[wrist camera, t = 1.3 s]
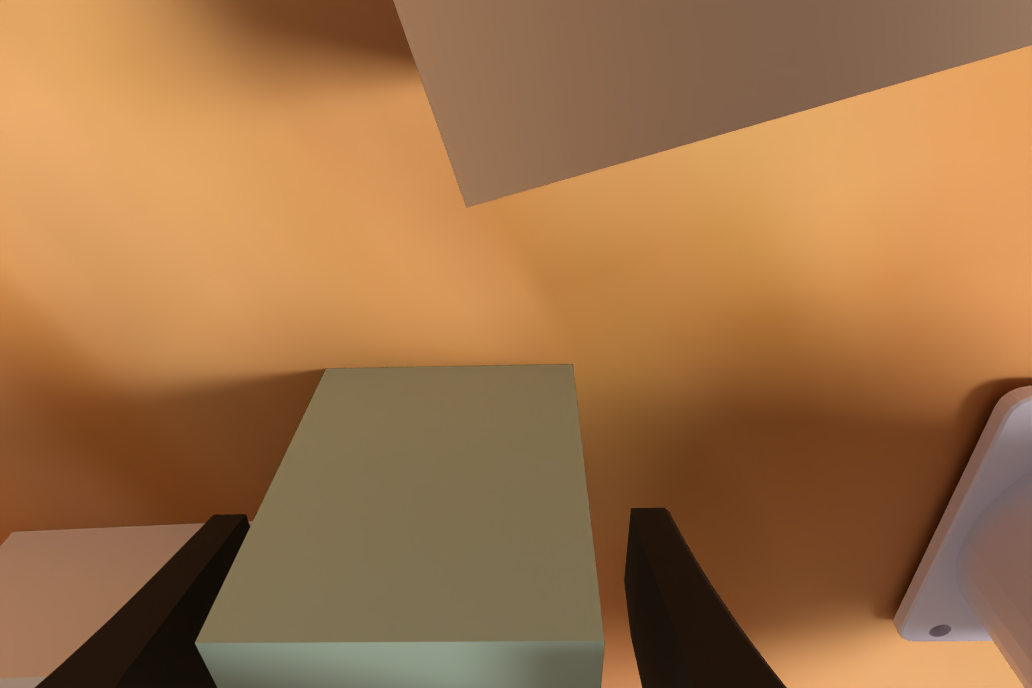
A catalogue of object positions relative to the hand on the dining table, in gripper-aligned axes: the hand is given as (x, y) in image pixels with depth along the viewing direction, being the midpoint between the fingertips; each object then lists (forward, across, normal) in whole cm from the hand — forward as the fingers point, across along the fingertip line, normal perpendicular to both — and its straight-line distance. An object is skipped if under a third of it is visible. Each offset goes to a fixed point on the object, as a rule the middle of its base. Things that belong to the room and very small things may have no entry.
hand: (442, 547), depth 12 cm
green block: (+2, 0, 0) cm, 3 cm away
